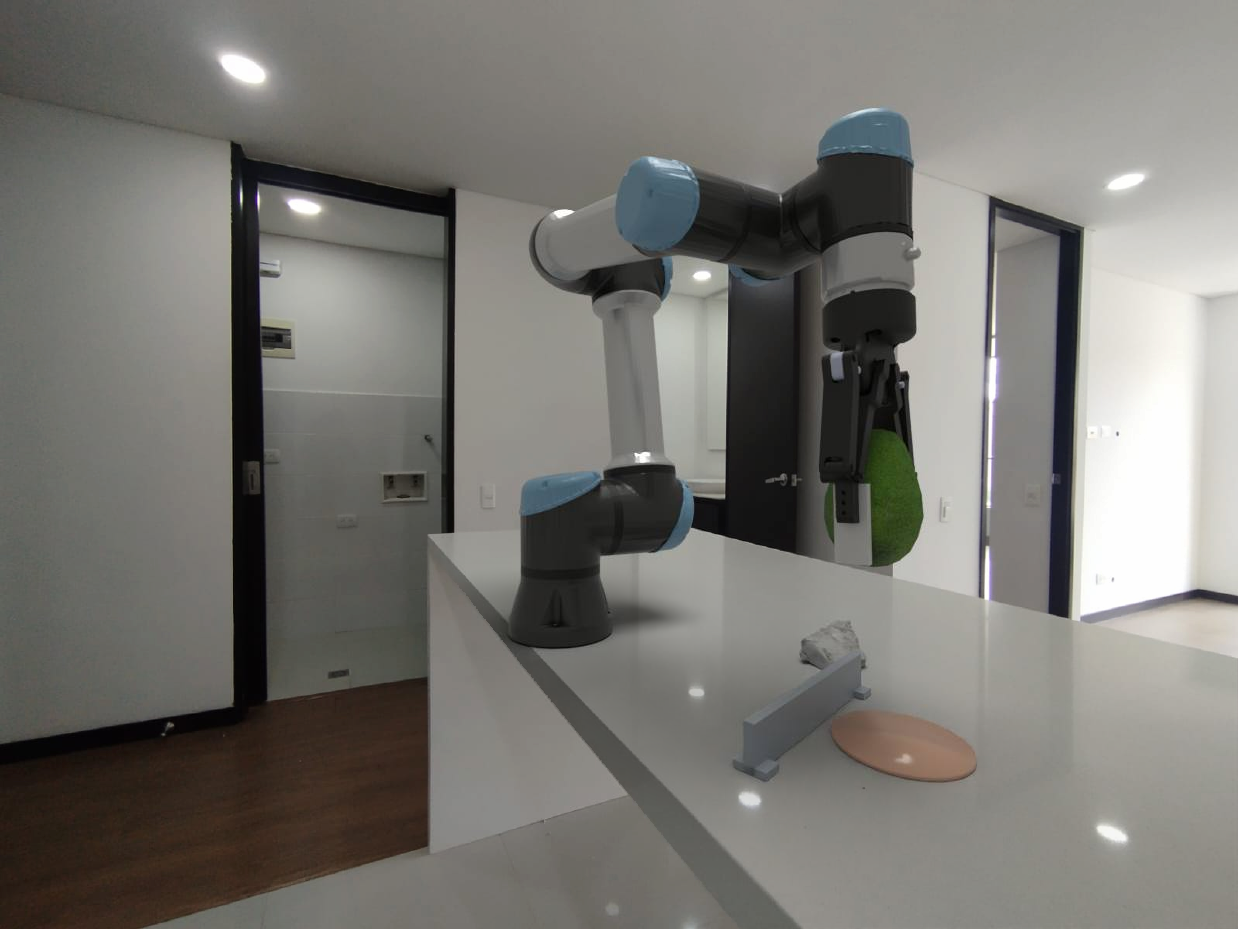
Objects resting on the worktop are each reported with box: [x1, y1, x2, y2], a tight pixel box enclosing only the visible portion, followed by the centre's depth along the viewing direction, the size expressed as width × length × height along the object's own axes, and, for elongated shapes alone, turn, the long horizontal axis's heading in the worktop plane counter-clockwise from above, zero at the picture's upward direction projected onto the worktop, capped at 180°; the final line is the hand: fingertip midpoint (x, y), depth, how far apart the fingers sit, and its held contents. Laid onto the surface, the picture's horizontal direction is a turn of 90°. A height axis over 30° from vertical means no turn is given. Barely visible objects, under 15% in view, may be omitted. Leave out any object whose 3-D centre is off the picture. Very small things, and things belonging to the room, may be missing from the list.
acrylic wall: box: [731, 651, 872, 782], centre depth 50 cm, size 3×22×4 cm, turn 136°
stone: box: [799, 619, 867, 670], centre depth 67 cm, size 6×12×4 cm, turn 131°
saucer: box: [830, 710, 977, 783], centre depth 46 cm, size 11×11×1 cm
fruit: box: [823, 429, 925, 568], centre depth 47 cm, size 8×8×12 cm
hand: (873, 557), depth 47 cm, fingers closed on fruit, 8 cm apart
